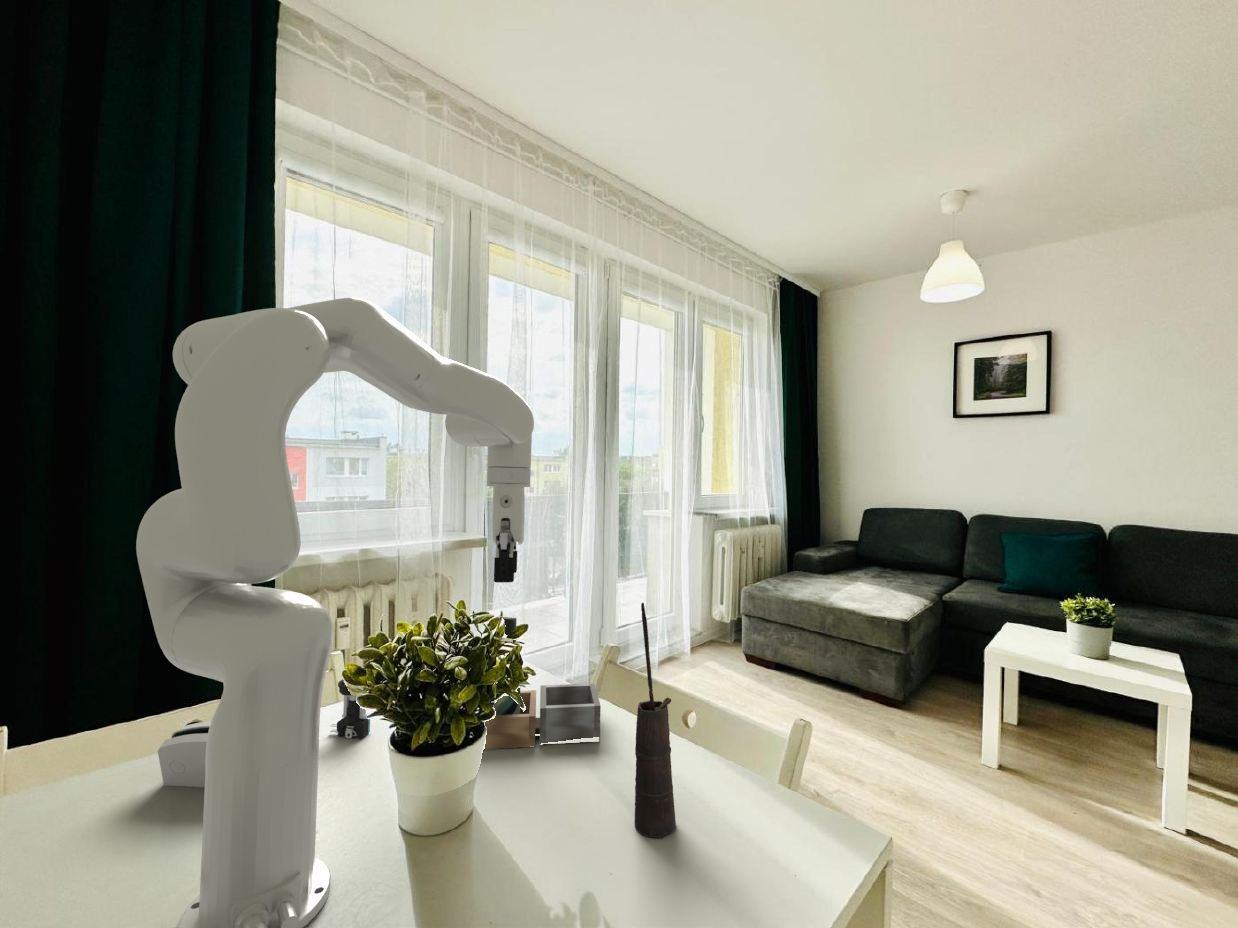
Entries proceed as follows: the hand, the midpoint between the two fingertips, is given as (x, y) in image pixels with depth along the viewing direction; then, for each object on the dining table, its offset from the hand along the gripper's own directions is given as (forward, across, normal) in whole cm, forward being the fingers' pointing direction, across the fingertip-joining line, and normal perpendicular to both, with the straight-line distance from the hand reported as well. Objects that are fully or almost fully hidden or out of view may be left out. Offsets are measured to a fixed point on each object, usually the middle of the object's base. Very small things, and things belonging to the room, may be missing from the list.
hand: (505, 577), depth 92 cm
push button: (+27, +3, +25) cm, 37 cm away
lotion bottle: (+27, 0, 0) cm, 27 cm away
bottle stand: (+27, 0, -6) cm, 27 cm away
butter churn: (+27, -26, -22) cm, 44 cm away
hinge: (+27, -10, +37) cm, 48 cm away
